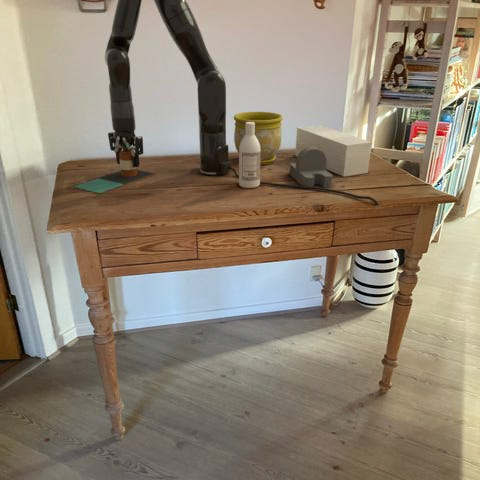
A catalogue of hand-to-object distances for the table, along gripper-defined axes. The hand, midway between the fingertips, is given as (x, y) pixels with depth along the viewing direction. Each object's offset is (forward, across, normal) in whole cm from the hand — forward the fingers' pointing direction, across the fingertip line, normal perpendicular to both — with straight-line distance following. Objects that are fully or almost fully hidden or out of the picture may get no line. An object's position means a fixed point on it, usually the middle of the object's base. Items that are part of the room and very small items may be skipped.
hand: (128, 165), depth 181 cm
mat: (+4, 0, +7) cm, 8 cm away
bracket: (+4, -55, -31) cm, 63 cm away
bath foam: (+4, -41, -14) cm, 43 cm away
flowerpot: (+4, -27, -42) cm, 50 cm away
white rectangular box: (+4, -52, -54) cm, 75 cm away
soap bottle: (+3, 0, 0) cm, 3 cm away
